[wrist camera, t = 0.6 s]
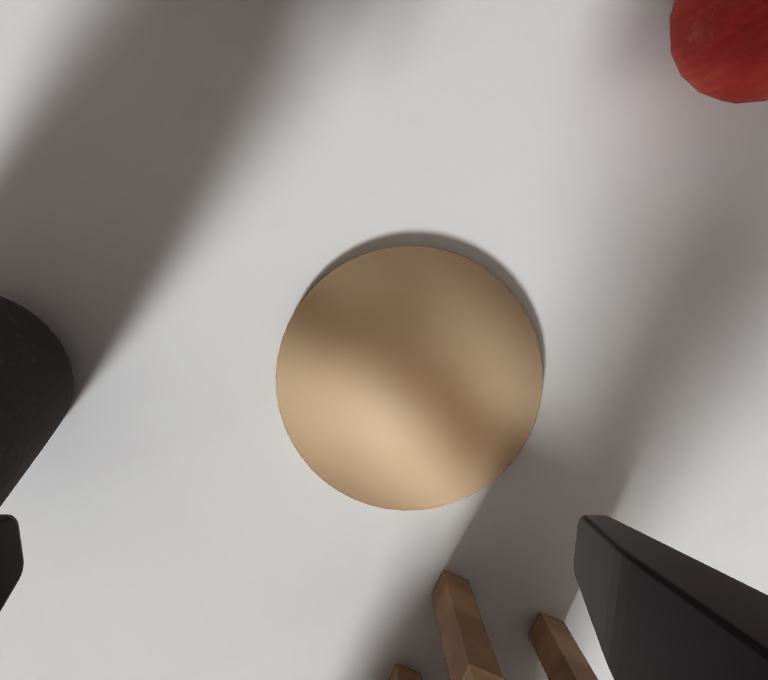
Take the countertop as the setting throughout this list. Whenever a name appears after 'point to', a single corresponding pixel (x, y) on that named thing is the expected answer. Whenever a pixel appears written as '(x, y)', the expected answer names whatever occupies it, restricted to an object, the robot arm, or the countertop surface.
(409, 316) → the trivet
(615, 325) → the countertop surface
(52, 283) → the countertop surface
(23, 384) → the travel mug
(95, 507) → the countertop surface
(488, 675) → the tan block with prongs
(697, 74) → the onion
